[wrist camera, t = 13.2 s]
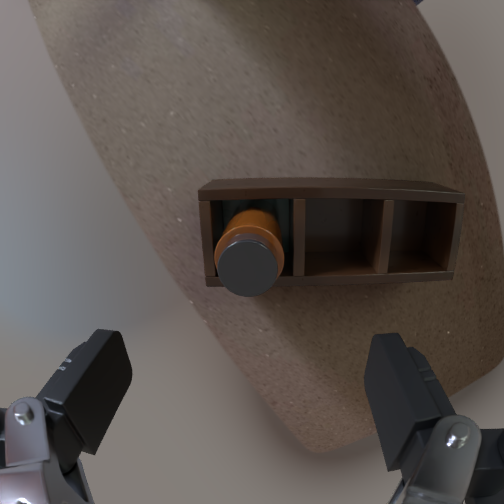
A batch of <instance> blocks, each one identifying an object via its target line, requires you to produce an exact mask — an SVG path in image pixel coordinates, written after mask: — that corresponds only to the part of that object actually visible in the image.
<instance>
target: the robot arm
mask: <svg viewBox="0 0 504 504" xmlns="http://www.w3.org/2000/svg"><path fill="white" fill-rule="evenodd" d="M131 380H132V367H131V363H130V360H129V357H128V354H127V351H126V348H125V345H124V341H123V338H122V335H121V333H120V332H119V331H113V330H103V329H97V330H96V331H95V332H94V333H93V334H92V336H91V337H90V338H89V339H88V341H87V342H84V343H82V344H81V345H79V346H78V347H76V348H75V349H73V350H72V352H71V353H70V354H69V355H68V357H67V358H66V359H65V361H64V362H63V363H62V364H61V365H60V367H59V370H58V369H57V370H56V372H55V373H54V374H53V376H52V377H51V378H50V379H49V381H48V382H47V383H46V385H45V386H44V387H43V389H42V390H41V391H40V393H39V394H38V395H37V396H36V398H34V397H23V398H20V399H18V400H16V401H14V402H13V403H12V404H11V405H10V406H9V407H8V409H6V408H0V504H95V503H94V501H93V498H92V495H91V492H90V489H89V486H88V483H87V480H86V476H85V473H84V470H83V466H82V463H81V460H80V459H79V455H80V453H81V451H83V452H86V453H89V454H93V455H95V454H96V451H97V449H98V447H99V445H100V443H101V441H102V439H103V437H104V435H105V433H106V431H107V429H108V427H109V425H110V423H111V421H112V419H113V417H114V415H115V413H116V411H117V409H118V407H119V405H120V403H121V401H122V399H123V397H124V395H125V393H126V392H127V390H128V388H129V386H130V384H131ZM364 385H365V391H366V394H367V397H368V401H369V404H370V408H371V411H372V414H373V418H374V421H375V425H376V429H377V432H378V436H379V439H380V443H381V447H382V451H383V454H384V458H385V462H386V466H387V470H388V472H389V471H394V470H398V469H401V473H402V478H401V480H400V482H399V483H398V485H397V487H396V489H395V491H394V493H393V495H392V496H391V498H390V500H389V501H388V503H387V504H463V501H464V500H465V503H466V504H504V429H479V427H478V425H477V424H476V423H475V422H474V421H473V420H471V419H470V418H468V417H465V416H462V415H457V414H456V413H455V411H454V409H453V407H452V405H451V403H450V401H449V399H448V397H447V395H446V394H445V392H444V390H443V388H442V386H441V384H440V383H439V381H438V379H436V375H435V374H434V372H433V370H431V366H430V365H429V363H428V361H427V360H426V358H425V356H424V355H422V354H421V353H420V352H419V351H417V350H416V349H415V348H414V347H408V348H407V347H406V345H405V344H404V342H403V340H402V338H401V336H400V335H399V334H398V333H388V334H375V335H374V336H373V338H372V342H371V347H370V351H369V356H368V361H367V365H366V369H365V375H364Z"/></svg>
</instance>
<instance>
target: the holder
mask: <svg viewBox="0 0 504 504" xmlns="http://www.w3.org/2000/svg"><path fill="white" fill-rule="evenodd" d="M249 199H262V200H265V201H268V202H269V203H271V204H272V205H273V206H274V207H275V208H276V210H277V212H278V214H279V217H280V223H281V231H282V240H283V248H284V258H285V260H284V267H283V270H282V272H281V274H280V276H279V277H278V278H277V279H276V280H275V282H274V284H273V285H272V286H320V285H354V284H381V283H403V282H423V281H440V280H452V279H453V274H454V269H455V264H456V259H457V253H458V247H459V241H460V234H461V227H462V219H463V211H464V201H465V193H462V192H459V191H456V190H453V189H450V188H447V187H444V186H441V185H438V184H435V183H432V182H418V181H403V180H385V179H361V178H243V179H218V180H212V181H210V182H209V183H207V184H206V185H204V186H203V187H201V188H200V189H199V190H198V200H199V213H200V225H201V237H202V249H203V259H204V270H205V276H206V277H205V280H206V286H207V287H225V286H224V285H223V284H222V282H221V281H220V279H219V276H218V272H217V268H216V265H215V260H214V255H215V249H216V246H217V244H218V242H219V240H220V238H221V236H222V234H223V232H224V230H225V228H226V226H227V224H228V222H229V220H230V218H231V216H232V214H233V212H234V211H235V209H236V208H237V206H238V205H239V204H241V203H242V202H244V201H246V200H249Z"/></svg>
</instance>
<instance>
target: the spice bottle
mask: <svg viewBox="0 0 504 504" xmlns="http://www.w3.org/2000/svg"><path fill="white" fill-rule="evenodd" d="M214 260H215V265H216V268H217V272H218V276H219V279H220V281H221V282H222V284H223V285H224V286H225V287H226V288H227V289H228V290H229V291H231V292H232V293H234V294H236V295H239V296H244V297H253V296H257V295H260V294H262V293H264V292H266V291H267V290H268V289H270V288H271V287H272V285H273V284H274V282H275V280H276V279H277V278H278V277H279V276H280V274H281V272H282V270H283V267H284V260H285V258H284V248H283V240H282V231H281V223H280V217H279V214H278V212H277V210H276V208H275V207H274V206H273V205H272V204H271V203H269V202H268V201H265V200H262V199H249V200H246V201H244V202H242V203H241V204H239V205H238V206H237V208H236V209H235V211H234V212H233V214H232V216H231V218H230V220H229V222H228V224H227V226H226V228H225V230H224V232H223V234H222V236H221V238H220V240H219V242H218V244H217V246H216V249H215V255H214Z"/></svg>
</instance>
